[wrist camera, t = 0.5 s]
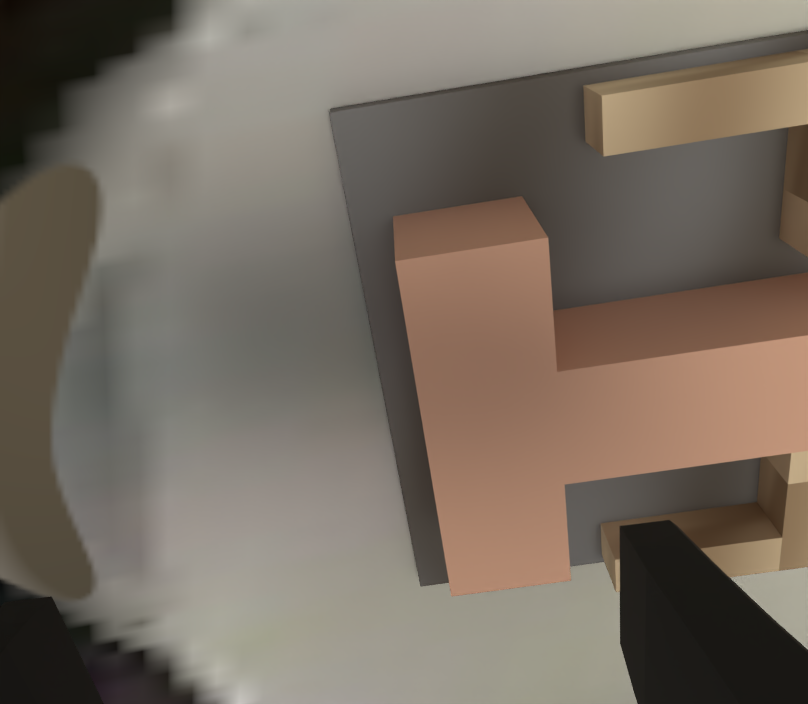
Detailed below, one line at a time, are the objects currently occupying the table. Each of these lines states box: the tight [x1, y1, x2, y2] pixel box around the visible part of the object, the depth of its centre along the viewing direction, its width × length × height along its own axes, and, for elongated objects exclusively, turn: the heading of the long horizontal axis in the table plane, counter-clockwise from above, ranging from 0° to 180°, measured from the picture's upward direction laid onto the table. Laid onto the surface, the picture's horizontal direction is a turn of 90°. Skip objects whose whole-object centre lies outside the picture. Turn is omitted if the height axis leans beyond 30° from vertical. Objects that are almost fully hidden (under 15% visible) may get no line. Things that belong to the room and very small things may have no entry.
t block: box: [393, 196, 808, 596], centre depth 18 cm, size 10×9×3 cm
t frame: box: [329, 30, 808, 592], centre depth 18 cm, size 19×14×2 cm
